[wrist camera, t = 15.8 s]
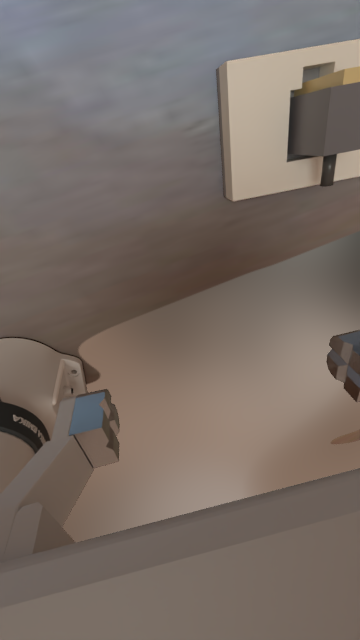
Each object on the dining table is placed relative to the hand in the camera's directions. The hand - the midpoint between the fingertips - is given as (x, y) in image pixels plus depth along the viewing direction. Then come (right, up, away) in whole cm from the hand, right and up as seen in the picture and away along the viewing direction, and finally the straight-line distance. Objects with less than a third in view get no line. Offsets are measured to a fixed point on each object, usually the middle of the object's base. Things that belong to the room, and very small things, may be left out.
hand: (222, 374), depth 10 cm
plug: (+12, +24, +21) cm, 34 cm away
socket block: (+12, +24, +22) cm, 35 cm away
